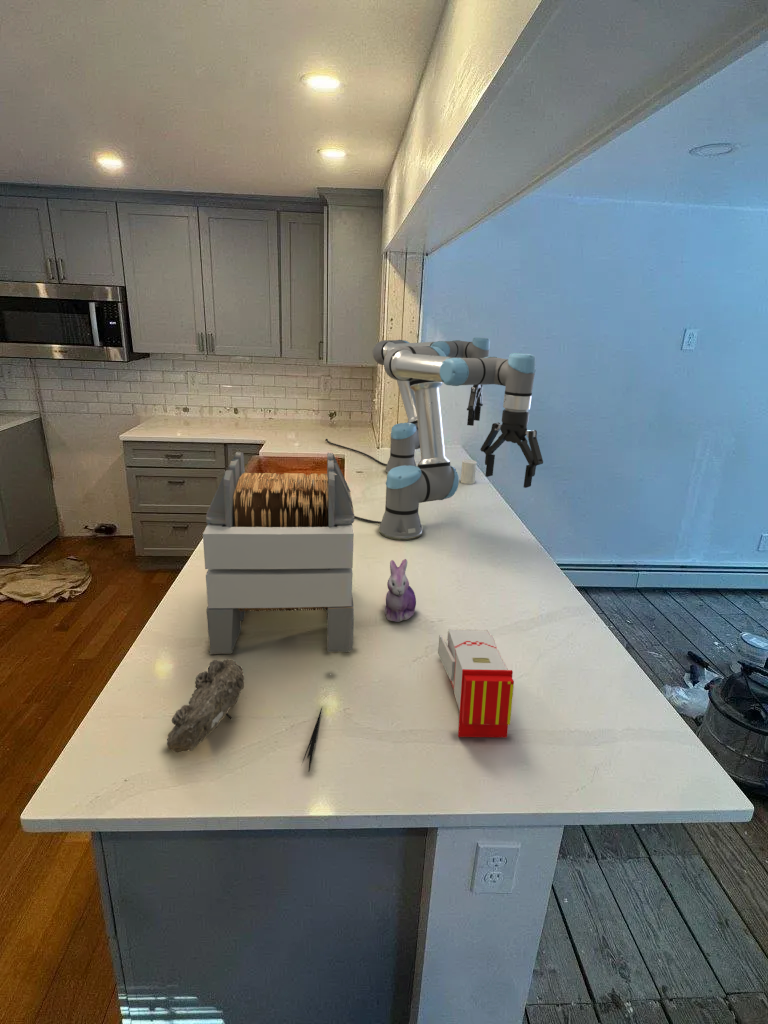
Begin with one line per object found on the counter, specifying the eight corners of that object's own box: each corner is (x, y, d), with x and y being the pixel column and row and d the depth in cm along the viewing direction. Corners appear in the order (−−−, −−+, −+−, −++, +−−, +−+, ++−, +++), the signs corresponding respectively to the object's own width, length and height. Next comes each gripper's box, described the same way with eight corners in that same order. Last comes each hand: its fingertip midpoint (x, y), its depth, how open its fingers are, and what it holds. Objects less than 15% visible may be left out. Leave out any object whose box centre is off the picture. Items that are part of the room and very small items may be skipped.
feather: (331, 679, 122) (336, 673, 122) (307, 777, 96) (313, 769, 95) (324, 675, 122) (329, 669, 121) (298, 772, 95) (304, 764, 95)
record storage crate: (229, 585, 158) (221, 442, 144) (346, 584, 161) (350, 444, 148) (206, 656, 126) (193, 481, 112) (353, 652, 130) (358, 483, 116)
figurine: (392, 627, 141) (395, 572, 136) (374, 608, 149) (376, 556, 144) (425, 619, 145) (429, 566, 140) (405, 601, 154) (408, 550, 149)
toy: (488, 613, 130) (523, 677, 101) (484, 667, 133) (517, 744, 104) (435, 612, 130) (455, 676, 101) (432, 666, 133) (451, 743, 103)
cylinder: (477, 482, 265) (479, 461, 261) (469, 484, 260) (471, 464, 257) (465, 479, 269) (467, 458, 265) (457, 481, 264) (459, 461, 261)
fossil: (192, 660, 117) (244, 628, 112) (224, 691, 120) (276, 661, 115) (142, 746, 98) (202, 712, 93) (182, 779, 101) (242, 748, 96)
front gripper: (562, 415, 156) (551, 489, 163) (488, 402, 172) (481, 469, 180) (547, 418, 151) (537, 494, 158) (473, 404, 167) (466, 473, 175)
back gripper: (481, 378, 235) (476, 428, 243) (491, 372, 258) (486, 419, 265) (463, 376, 238) (459, 426, 245) (475, 371, 260) (471, 417, 267)
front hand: (507, 481), depth 169 cm, fingers open, 13 cm apart
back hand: (473, 422), depth 255 cm, fingers open, 13 cm apart
